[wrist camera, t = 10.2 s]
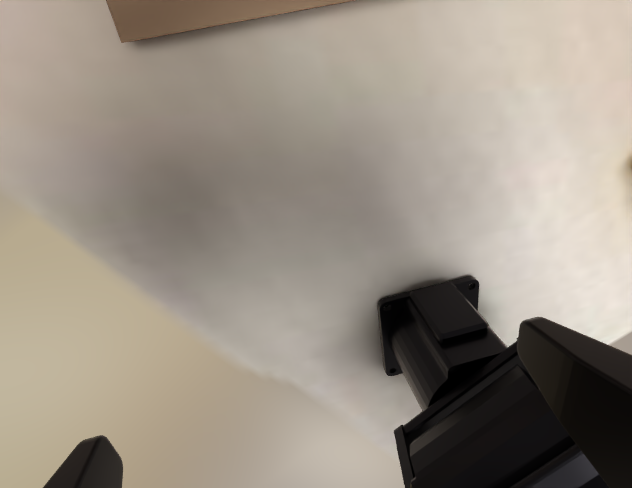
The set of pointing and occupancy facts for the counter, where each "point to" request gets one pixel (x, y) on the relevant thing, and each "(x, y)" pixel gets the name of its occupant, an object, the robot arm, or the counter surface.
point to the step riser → (195, 14)
